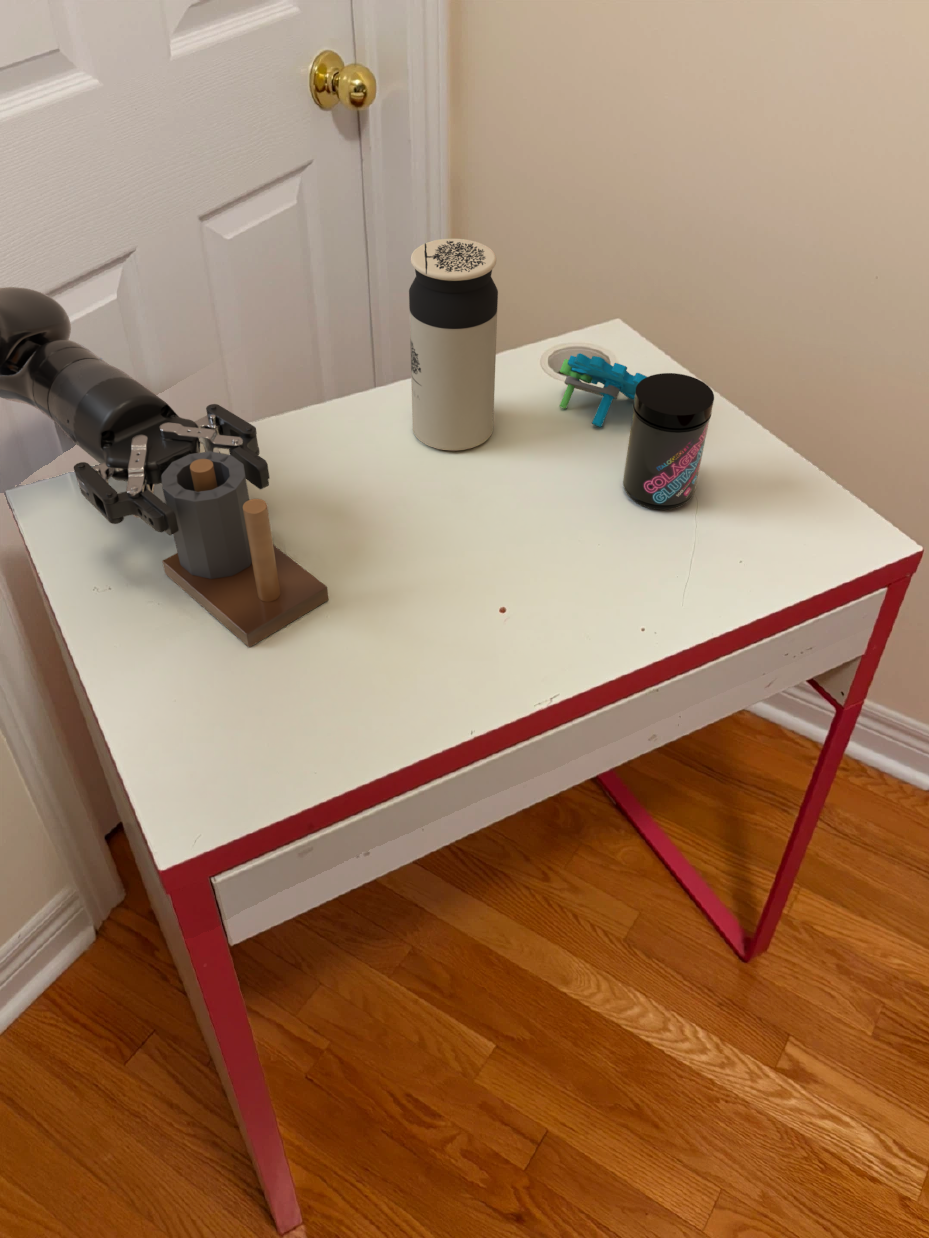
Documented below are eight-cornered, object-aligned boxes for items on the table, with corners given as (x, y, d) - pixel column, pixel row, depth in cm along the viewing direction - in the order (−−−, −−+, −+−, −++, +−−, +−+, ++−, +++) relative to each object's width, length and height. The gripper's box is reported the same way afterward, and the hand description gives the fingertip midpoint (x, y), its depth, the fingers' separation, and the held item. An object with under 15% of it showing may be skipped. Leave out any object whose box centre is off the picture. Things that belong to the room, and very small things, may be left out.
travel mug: (496, 410, 107) (502, 239, 94) (489, 456, 101) (495, 279, 88) (418, 405, 107) (414, 234, 95) (407, 450, 101) (401, 274, 89)
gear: (681, 398, 105) (643, 361, 97) (658, 453, 106) (619, 420, 97) (590, 374, 111) (547, 337, 103) (568, 426, 112) (524, 393, 103)
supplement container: (623, 512, 95) (637, 413, 88) (619, 467, 100) (632, 371, 92) (698, 515, 95) (719, 417, 87) (690, 471, 100) (709, 374, 92)
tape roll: (208, 589, 85) (191, 511, 79) (164, 551, 88) (145, 474, 82) (272, 554, 88) (260, 476, 82) (228, 519, 91) (214, 442, 86)
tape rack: (329, 600, 86) (318, 498, 79) (249, 648, 82) (229, 545, 75) (243, 532, 92) (225, 432, 85) (164, 574, 88) (139, 472, 81)
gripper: (23, 411, 84) (130, 501, 76) (175, 349, 92) (288, 425, 83) (48, 486, 90) (151, 578, 81) (189, 422, 97) (297, 500, 88)
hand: (220, 500), depth 82 cm, fingers open, 8 cm apart
